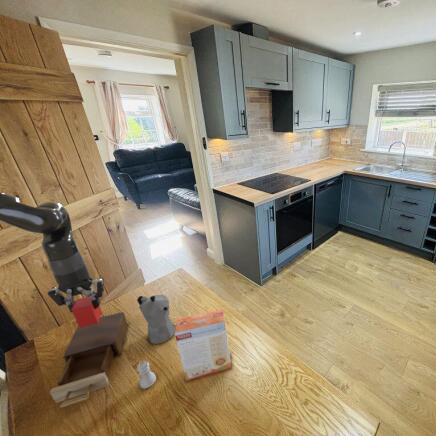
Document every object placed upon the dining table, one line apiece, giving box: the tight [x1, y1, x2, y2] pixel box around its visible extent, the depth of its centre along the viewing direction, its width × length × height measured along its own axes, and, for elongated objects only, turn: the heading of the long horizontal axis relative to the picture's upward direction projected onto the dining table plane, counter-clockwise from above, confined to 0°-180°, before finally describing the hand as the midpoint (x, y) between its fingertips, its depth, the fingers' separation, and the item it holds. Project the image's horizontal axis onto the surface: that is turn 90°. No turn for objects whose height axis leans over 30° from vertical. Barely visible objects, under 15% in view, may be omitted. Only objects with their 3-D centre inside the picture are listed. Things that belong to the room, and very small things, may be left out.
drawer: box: [49, 345, 115, 409], centre depth 73 cm, size 18×12×5 cm
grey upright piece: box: [136, 294, 176, 345], centre depth 87 cm, size 15×9×18 cm, turn 67°
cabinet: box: [62, 311, 129, 364], centre depth 84 cm, size 15×14×7 cm
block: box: [71, 296, 103, 328], centre depth 79 cm, size 5×5×8 cm
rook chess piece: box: [136, 360, 157, 389], centre depth 73 cm, size 4×4×8 cm
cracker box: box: [174, 308, 232, 382], centre depth 75 cm, size 14×6×21 cm, turn 108°
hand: (86, 309), depth 79 cm, fingers closed on block, 5 cm apart
